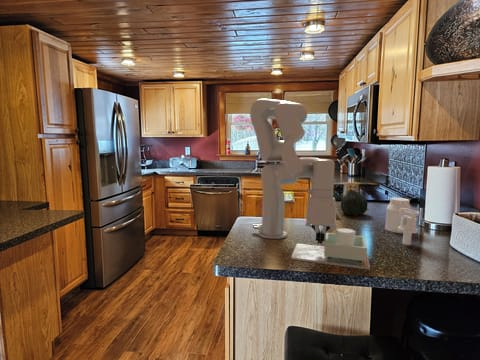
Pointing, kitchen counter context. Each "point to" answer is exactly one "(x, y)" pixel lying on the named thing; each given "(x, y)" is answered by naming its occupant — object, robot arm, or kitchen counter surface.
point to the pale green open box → (346, 248)
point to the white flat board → (324, 257)
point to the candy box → (350, 187)
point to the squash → (354, 203)
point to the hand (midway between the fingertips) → (319, 242)
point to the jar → (395, 213)
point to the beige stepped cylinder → (408, 224)
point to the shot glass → (345, 236)
